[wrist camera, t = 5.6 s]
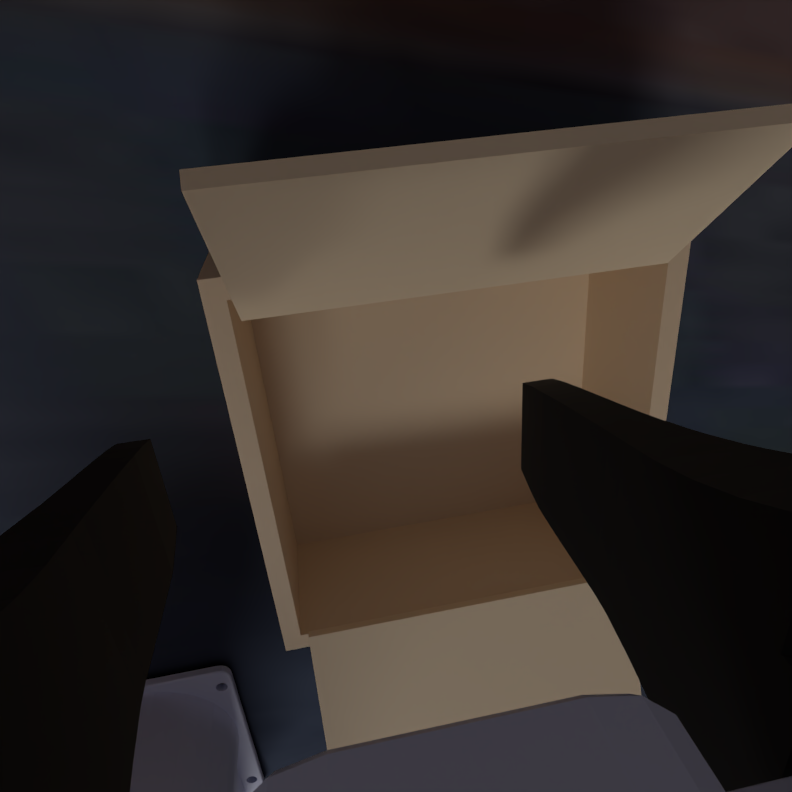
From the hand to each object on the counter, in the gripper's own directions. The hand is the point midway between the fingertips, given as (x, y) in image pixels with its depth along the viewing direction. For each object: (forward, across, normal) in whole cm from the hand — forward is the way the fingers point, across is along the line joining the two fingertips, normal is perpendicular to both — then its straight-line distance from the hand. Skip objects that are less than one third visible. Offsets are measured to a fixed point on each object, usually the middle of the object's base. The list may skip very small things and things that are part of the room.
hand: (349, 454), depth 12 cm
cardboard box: (+10, -4, +4) cm, 12 cm away
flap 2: (+4, -4, +12) cm, 13 cm away
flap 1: (+3, -4, -3) cm, 6 cm away
